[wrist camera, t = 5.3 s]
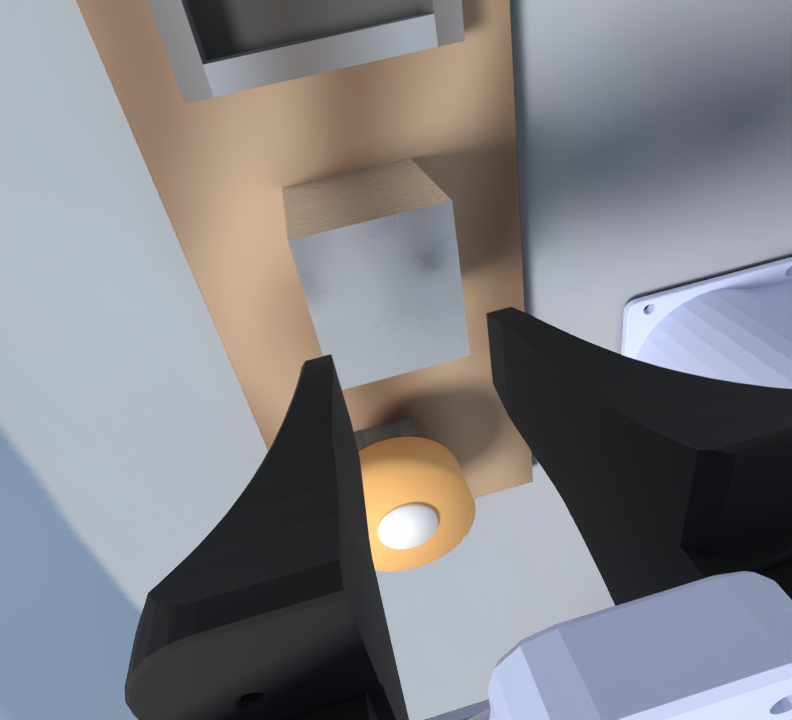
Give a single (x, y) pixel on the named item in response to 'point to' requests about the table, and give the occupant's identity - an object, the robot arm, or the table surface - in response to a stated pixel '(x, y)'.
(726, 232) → the table surface
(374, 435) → the wooden fixture board
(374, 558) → the wheel
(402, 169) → the brushed metal cube
